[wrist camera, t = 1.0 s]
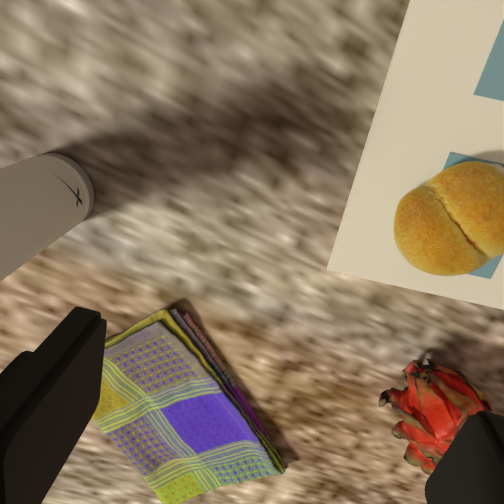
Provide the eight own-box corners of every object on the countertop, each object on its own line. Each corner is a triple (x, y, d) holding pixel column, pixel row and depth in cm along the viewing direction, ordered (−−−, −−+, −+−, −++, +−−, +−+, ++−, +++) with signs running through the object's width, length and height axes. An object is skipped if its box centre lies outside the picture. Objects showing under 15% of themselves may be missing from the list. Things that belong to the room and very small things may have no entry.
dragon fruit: (429, 425, 43) (398, 327, 41) (522, 448, 37) (491, 333, 34) (392, 487, 38) (354, 378, 35) (493, 526, 32) (454, 398, 29)
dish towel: (166, 495, 51) (159, 517, 49) (43, 351, 43) (27, 369, 41) (292, 462, 46) (292, 485, 44) (180, 292, 38) (172, 309, 36)
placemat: (453, -139, 23) (455, -142, 23) (747, -78, 23) (754, -80, 23) (326, 268, 35) (326, 270, 35) (521, 312, 35) (523, 314, 35)
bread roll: (371, 211, 32) (380, 230, 29) (480, 139, 29) (505, 150, 26) (426, 286, 34) (440, 312, 31) (532, 225, 31) (563, 247, 28)
